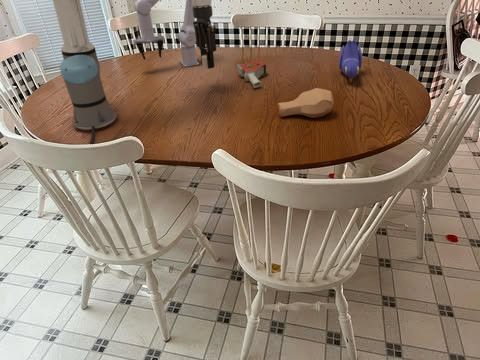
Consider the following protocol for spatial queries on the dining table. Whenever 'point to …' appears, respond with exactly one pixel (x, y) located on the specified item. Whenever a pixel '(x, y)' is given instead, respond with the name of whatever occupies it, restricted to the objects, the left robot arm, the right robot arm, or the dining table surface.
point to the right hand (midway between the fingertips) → (152, 58)
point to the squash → (309, 104)
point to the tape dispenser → (252, 72)
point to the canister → (204, 62)
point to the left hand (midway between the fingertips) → (208, 66)
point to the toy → (350, 59)
